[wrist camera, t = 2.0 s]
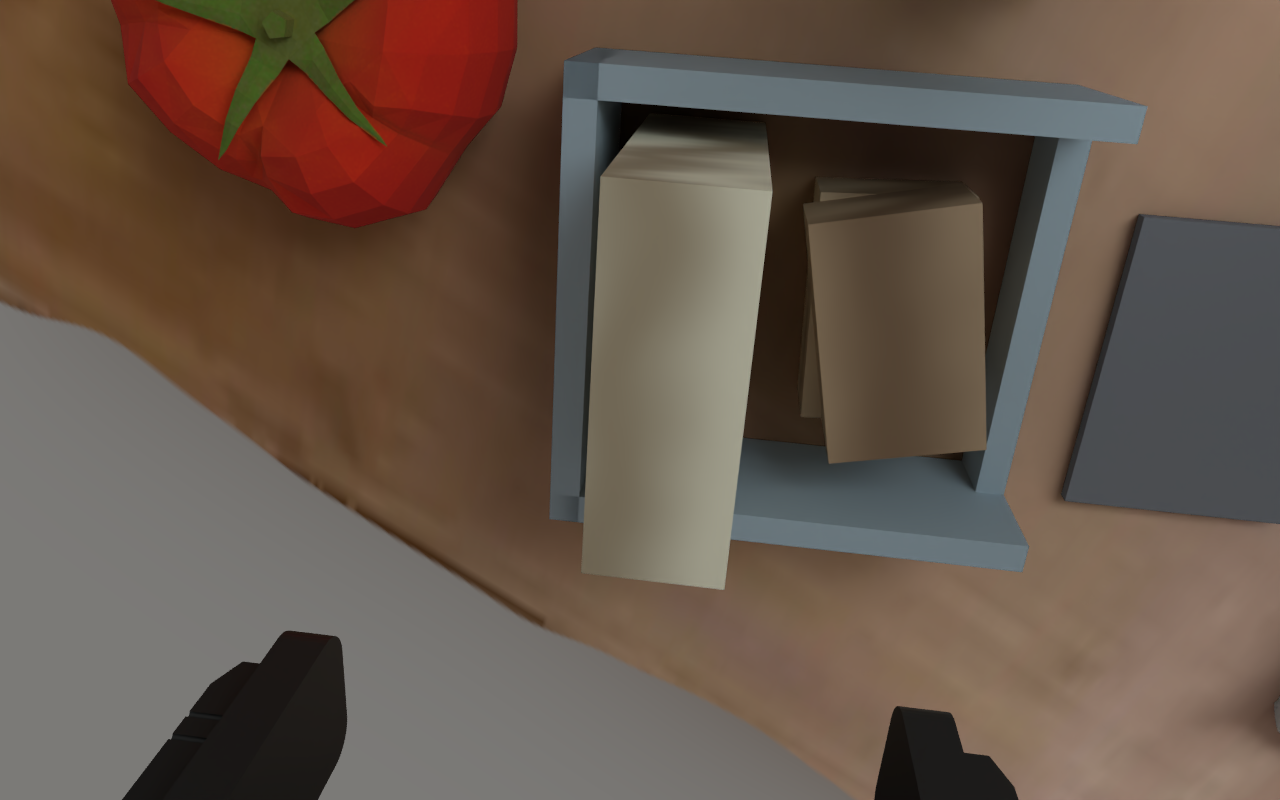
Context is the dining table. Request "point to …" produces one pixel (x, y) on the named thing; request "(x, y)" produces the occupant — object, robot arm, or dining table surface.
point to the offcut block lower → (808, 364)
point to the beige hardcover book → (673, 346)
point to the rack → (799, 473)
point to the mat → (1188, 376)
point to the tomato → (325, 92)
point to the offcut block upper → (899, 322)
